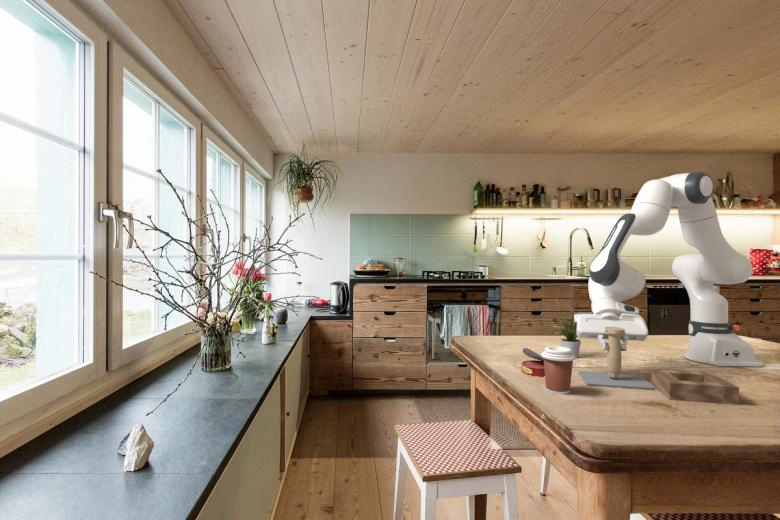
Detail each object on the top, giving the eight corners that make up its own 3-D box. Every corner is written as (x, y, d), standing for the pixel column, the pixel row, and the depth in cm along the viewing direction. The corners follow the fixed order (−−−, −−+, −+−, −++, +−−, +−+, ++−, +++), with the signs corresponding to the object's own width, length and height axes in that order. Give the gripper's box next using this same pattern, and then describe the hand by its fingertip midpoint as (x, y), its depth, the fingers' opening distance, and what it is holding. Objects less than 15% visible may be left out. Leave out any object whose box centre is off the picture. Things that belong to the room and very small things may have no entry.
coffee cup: (557, 397, 118) (558, 353, 118) (534, 388, 127) (534, 346, 126) (582, 393, 122) (582, 350, 122) (557, 384, 130) (558, 344, 130)
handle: (615, 374, 137) (616, 326, 137) (627, 380, 131) (628, 330, 130) (600, 374, 137) (601, 326, 136) (612, 380, 130) (612, 330, 130)
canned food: (522, 383, 146) (518, 354, 151) (554, 382, 144) (548, 352, 149) (524, 376, 137) (519, 345, 141) (557, 374, 135) (552, 343, 139)
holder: (712, 388, 126) (713, 372, 126) (738, 404, 113) (739, 387, 113) (651, 384, 130) (651, 369, 130) (669, 399, 117) (669, 382, 117)
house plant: (556, 349, 176) (556, 309, 175) (593, 354, 167) (593, 312, 167) (545, 356, 164) (546, 313, 164) (585, 362, 156) (585, 316, 156)
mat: (639, 376, 138) (639, 374, 138) (654, 390, 125) (654, 387, 125) (578, 372, 143) (578, 370, 143) (586, 385, 129) (586, 383, 129)
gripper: (574, 306, 142) (579, 342, 133) (643, 308, 138) (654, 345, 128) (572, 317, 147) (576, 353, 138) (639, 320, 142) (649, 357, 133)
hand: (614, 349), depth 133 cm, fingers closed on handle, 3 cm apart
